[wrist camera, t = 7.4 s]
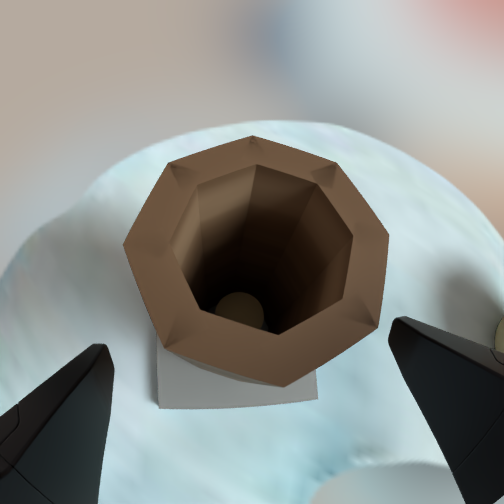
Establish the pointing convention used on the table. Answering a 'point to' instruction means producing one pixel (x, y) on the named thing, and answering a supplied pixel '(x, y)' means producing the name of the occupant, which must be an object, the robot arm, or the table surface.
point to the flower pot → (500, 337)
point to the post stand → (220, 387)
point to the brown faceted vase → (259, 259)
